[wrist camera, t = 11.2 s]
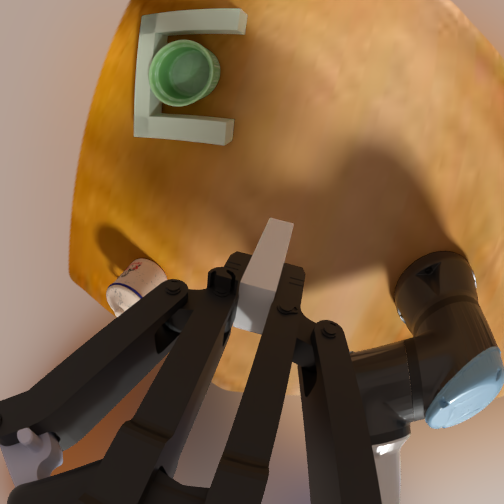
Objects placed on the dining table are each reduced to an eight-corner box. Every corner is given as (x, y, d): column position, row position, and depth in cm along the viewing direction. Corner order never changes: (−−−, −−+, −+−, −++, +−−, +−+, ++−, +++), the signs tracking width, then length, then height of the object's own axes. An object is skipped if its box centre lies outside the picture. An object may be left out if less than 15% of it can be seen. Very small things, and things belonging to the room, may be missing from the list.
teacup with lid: (141, 247, 51) (105, 286, 41) (177, 279, 53) (149, 322, 43) (119, 279, 57) (89, 314, 48) (151, 306, 59) (125, 345, 50)
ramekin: (175, 38, 30) (159, 34, 27) (234, 52, 30) (223, 48, 27) (157, 94, 35) (140, 97, 32) (212, 111, 35) (199, 115, 32)
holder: (247, 14, 27) (240, 8, 24) (232, 140, 37) (224, 145, 34) (155, 19, 29) (141, 15, 26) (146, 131, 39) (133, 136, 36)
